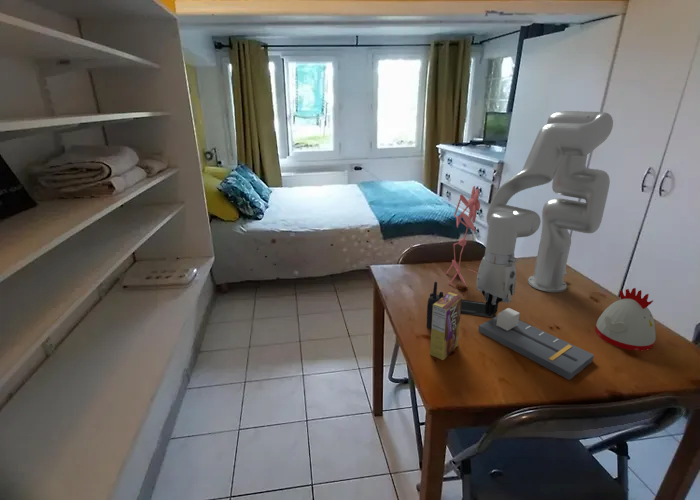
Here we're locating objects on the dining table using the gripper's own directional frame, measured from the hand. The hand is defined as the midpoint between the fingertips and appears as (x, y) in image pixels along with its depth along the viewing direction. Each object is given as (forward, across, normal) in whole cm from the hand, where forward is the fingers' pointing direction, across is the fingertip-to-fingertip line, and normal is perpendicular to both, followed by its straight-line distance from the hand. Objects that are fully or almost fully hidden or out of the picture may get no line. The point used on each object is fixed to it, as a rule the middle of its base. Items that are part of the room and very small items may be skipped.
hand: (490, 313), depth 115 cm
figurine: (+4, +23, -19) cm, 30 cm away
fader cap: (+1, -6, 0) cm, 6 cm away
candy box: (+4, -1, +21) cm, 21 cm away
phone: (+4, +9, -3) cm, 11 cm away
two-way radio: (+4, +9, +14) cm, 17 cm away
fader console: (+4, -14, 0) cm, 14 cm away
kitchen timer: (+4, -26, -25) cm, 37 cm away
